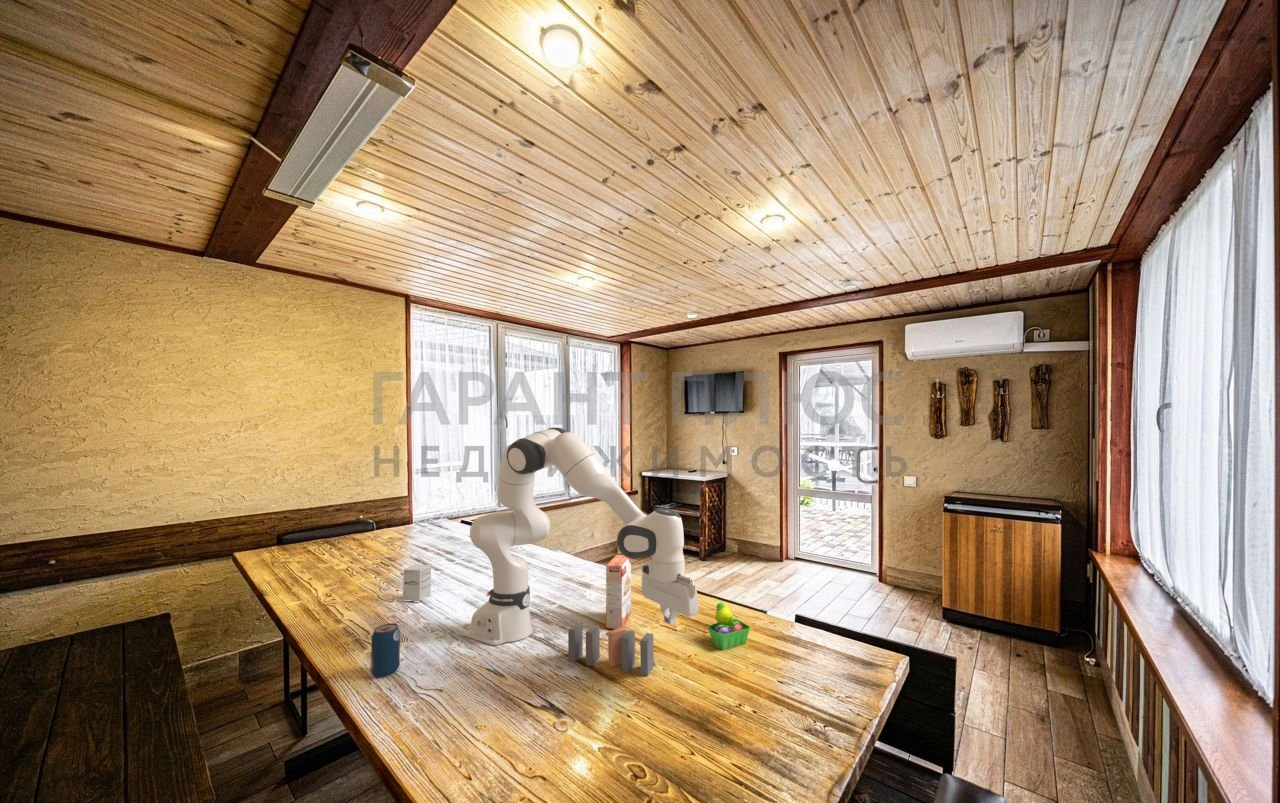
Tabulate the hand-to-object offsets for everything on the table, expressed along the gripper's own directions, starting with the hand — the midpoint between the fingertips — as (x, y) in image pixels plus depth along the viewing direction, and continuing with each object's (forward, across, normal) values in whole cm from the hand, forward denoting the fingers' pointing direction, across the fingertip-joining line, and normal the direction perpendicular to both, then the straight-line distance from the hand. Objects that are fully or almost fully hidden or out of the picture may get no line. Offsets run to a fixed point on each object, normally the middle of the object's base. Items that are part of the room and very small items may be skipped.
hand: (669, 623), depth 125 cm
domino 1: (+13, +24, +16) cm, 32 cm away
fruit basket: (+14, +4, -27) cm, 30 cm away
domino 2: (+14, +20, +13) cm, 27 cm away
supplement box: (+12, +104, +43) cm, 114 cm away
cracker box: (+13, +38, -9) cm, 41 cm away
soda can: (+13, +49, +61) cm, 80 cm away
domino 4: (+14, +11, +6) cm, 18 cm away
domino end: (+14, +6, +3) cm, 15 cm away
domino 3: (+14, +14, +7) cm, 21 cm away
